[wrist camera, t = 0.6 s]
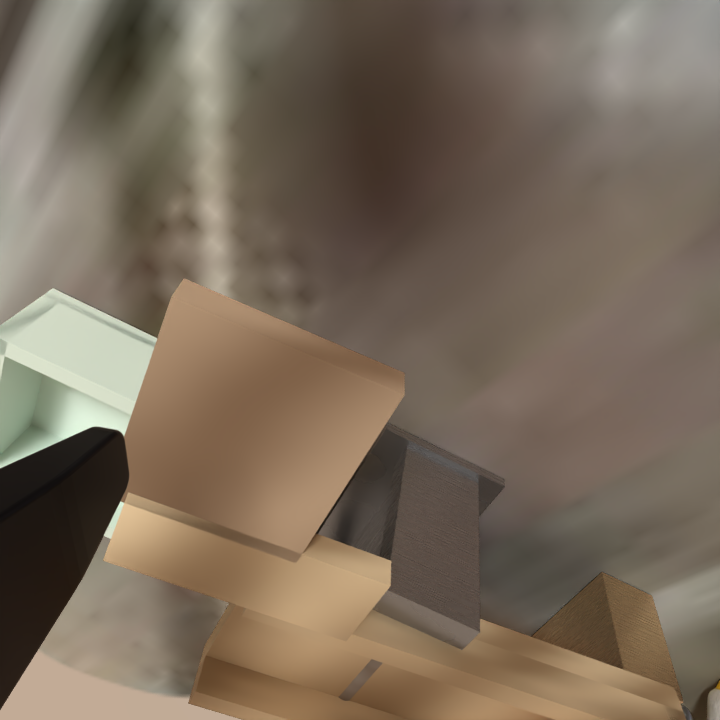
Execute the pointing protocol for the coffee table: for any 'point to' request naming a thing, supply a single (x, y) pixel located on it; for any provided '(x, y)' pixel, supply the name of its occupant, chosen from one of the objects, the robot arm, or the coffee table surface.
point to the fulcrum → (473, 558)
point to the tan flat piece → (309, 540)
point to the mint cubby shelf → (66, 375)
